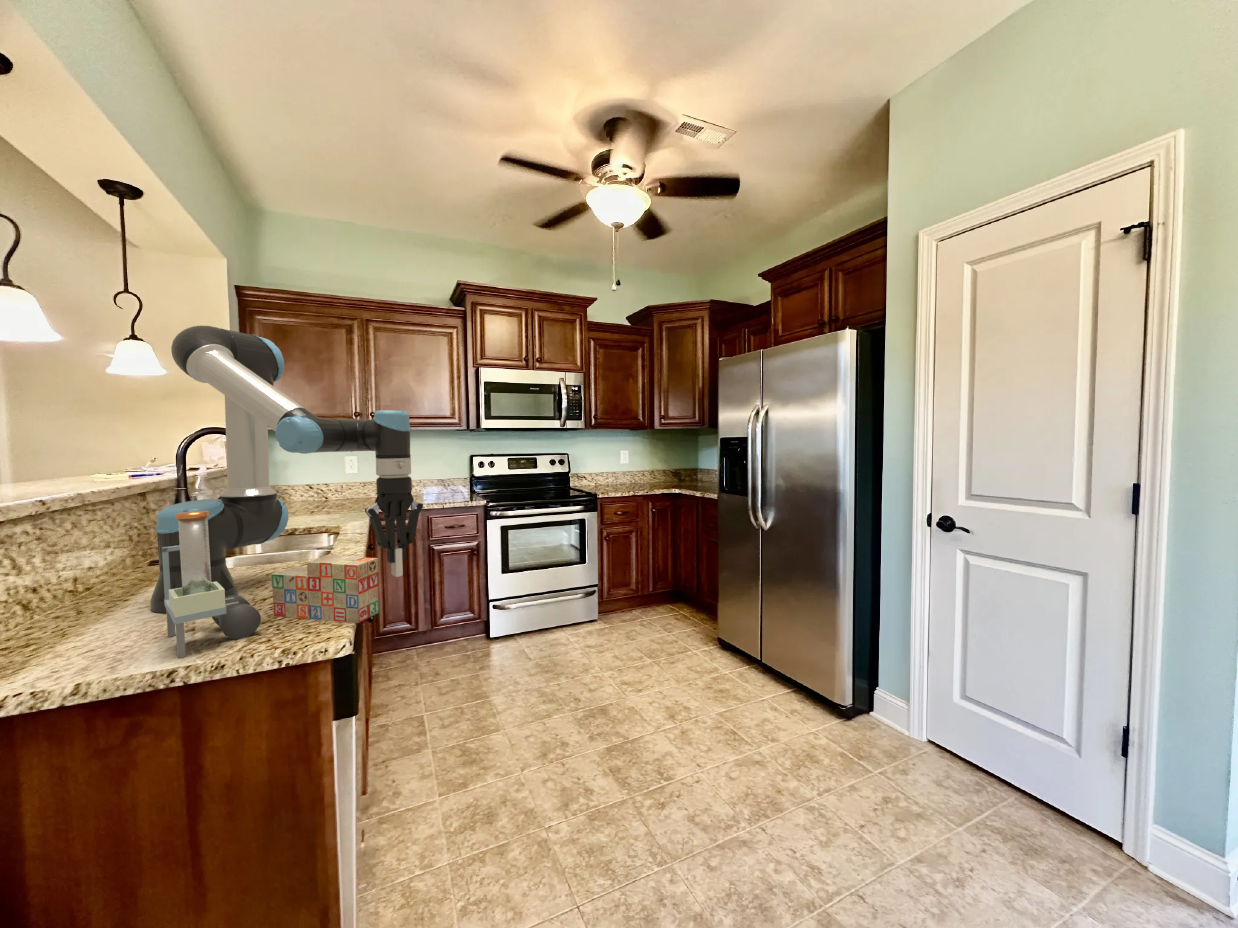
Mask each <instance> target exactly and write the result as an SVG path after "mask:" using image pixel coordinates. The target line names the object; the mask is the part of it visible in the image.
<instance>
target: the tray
mask: <svg viewBox="0 0 1238 928" xmlns="http://www.w3.org/2000/svg"><path fill="white" fill-rule="evenodd" d="M211 585H212V591H208V592H203V593H197V594H192V595H187V596H183V592H182V588H176V589H170V590H169V606H170V609H171V611H172V613H173V615H174V617H175V618H176V617H180V616H185V615H190V614H195V613H200V612H204V611H209V610H214V609H219V608H224V607H225V589H224V588H223V587H222V586H221V585H220V584H219V583H218V582H217V581H216V582H211Z"/></svg>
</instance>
